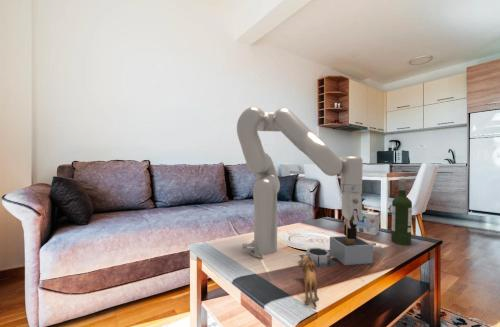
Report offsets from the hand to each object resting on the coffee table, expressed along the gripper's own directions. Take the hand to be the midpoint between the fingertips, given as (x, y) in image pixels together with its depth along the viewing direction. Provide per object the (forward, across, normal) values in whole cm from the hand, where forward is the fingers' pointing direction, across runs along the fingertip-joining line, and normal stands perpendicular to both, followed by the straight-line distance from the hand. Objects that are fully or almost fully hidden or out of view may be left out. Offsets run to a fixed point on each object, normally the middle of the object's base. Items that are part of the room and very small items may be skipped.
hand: (350, 236), depth 93 cm
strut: (+6, 0, 0) cm, 6 cm away
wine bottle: (+10, +25, -31) cm, 41 cm away
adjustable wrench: (+10, +17, -6) cm, 21 cm away
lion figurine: (+10, -24, +19) cm, 32 cm away
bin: (+10, 0, 0) cm, 10 cm away
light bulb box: (+10, +40, -21) cm, 46 cm away
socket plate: (+10, -3, +12) cm, 16 cm away
